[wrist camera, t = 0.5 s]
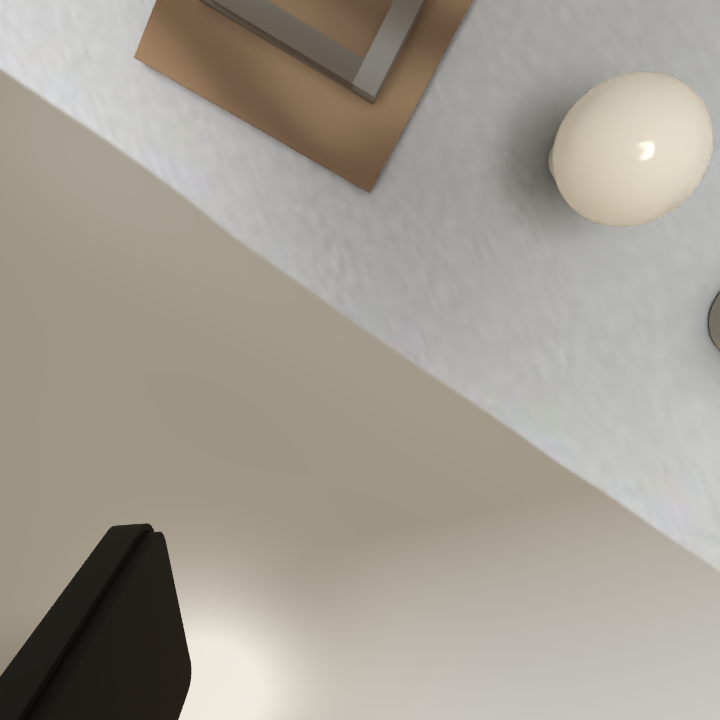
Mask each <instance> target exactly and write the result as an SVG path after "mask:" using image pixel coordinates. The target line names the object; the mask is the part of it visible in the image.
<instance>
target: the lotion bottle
mask: <svg viewBox="0 0 720 720" xmlns="http://www.w3.org/2000/svg"><path fill="white" fill-rule="evenodd" d="M709 330H710V334H711V337H712V340H713V341H714V343H715V345H716V346H717V347H718V348H719V349H720V294H719V295H718V297H717V298H716V300H715V302H714V304H713V306H712V309H711V312H710V317H709Z"/></svg>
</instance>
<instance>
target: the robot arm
mask: <svg viewBox="0 0 720 720" xmlns="http://www.w3.org/2000/svg"><path fill="white" fill-rule="evenodd" d="M190 681H191V661H190V656H189V652H188V647H187V643H186V637H185V632H184V628H183V623H182V618H181V613H180V608H179V604H178V598H177V594H176V589H175V584H174V579H173V574H172V569H171V565H170V560H169V555H168V550H167V545H166V541H165V538H164V535H163V533H161V532H154V530H153V528H152V526H151V525H150V524H133V525H118V526H112V527H111V528H110V529H109V530H108V531H107V533H106V534H105V536H104V537H103V538H102V540H101V541H100V542H99V544H98V545H97V546H96V548H95V549H94V551H93V552H92V553H91V554H90V556H89V557H88V558H87V560H86V561H85V563H84V564H83V565H82V567H81V568H80V569H79V571H78V572H77V573H76V575H75V576H74V578H73V579H72V580H71V581H70V583H69V584H68V586H67V587H66V588H65V590H64V591H63V592H62V594H61V595H60V596H59V598H58V599H57V601H56V602H55V603H54V605H53V606H52V607H51V609H50V610H49V611H48V613H47V614H46V615H45V617H44V618H43V619H42V621H41V622H40V624H39V625H38V626H37V628H36V629H35V630H34V632H33V633H32V634H31V636H30V637H29V638H28V640H27V641H26V642H25V644H24V645H23V647H22V648H21V649H20V651H19V652H18V653H17V655H16V656H15V657H14V659H13V660H12V661H11V663H10V664H9V666H8V667H7V668H6V670H5V671H4V672H3V674H2V675H1V676H0V720H178V719H179V716H180V713H181V710H182V708H183V705H184V702H185V699H186V696H187V693H188V690H189V686H190Z"/></svg>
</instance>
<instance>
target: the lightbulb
mask: <svg viewBox="0 0 720 720" xmlns="http://www.w3.org/2000/svg"><path fill="white" fill-rule="evenodd" d="M712 150H713V126H712V121H711V118H710V115H709V112H708V110H707V108H706V106H705V104H704V102H703V101H702V99H701V98H700V97H699V95H698V94H697V93H696V92H695V91H694V90H693V89H692V88H691V87H689V86H688V85H687V84H685V83H684V82H682V81H681V80H679V79H677V78H674V77H672V76H669V75H666V74H662V73H657V72H631V73H626V74H622V75H618V76H615V77H613V78H610V79H608V80H606V81H604V82H602V83H600V84H598V85H596V86H595V87H593V88H592V89H590V90H589V91H588V92H587V93H585V94H584V95H583V96H582V97H581V98H580V99H579V100H578V101H577V102H576V103H575V104H574V105H573V106H572V108H571V109H570V110H569V112H568V113H567V114H566V116H565V118H564V119H563V121H562V123H561V125H560V127H559V129H558V132H557V135H556V138H555V141H554V145H553V147H552V149H551V151H550V154H549V158H548V165H549V170H550V172H551V174H552V175H553V177H554V179H555V182H556V185H557V187H558V189H559V191H560V193H561V195H562V197H563V198H564V200H565V201H566V202H567V203H568V204H569V206H570V207H571V208H572V209H574V210H575V211H576V212H577V213H579V214H580V215H581V216H583V217H585V218H587V219H588V220H591V221H593V222H596V223H599V224H602V225H607V226H614V227H629V226H636V225H641V224H645V223H648V222H651V221H654V220H656V219H658V218H661V217H663V216H664V215H666V214H668V213H670V212H671V211H673V210H674V209H676V208H677V207H678V206H680V205H681V204H682V203H683V202H684V201H685V200H686V199H687V198H688V197H689V196H690V195H691V194H692V193H693V192H694V190H695V189H696V188H697V186H698V185H699V183H700V182H701V180H702V178H703V177H704V175H705V173H706V170H707V168H708V165H709V163H710V159H711V155H712Z"/></svg>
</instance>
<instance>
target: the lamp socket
mask: <svg viewBox="0 0 720 720" xmlns="http://www.w3.org/2000/svg"><path fill="white" fill-rule="evenodd" d="M471 2H472V0H156V3H155V5H154V8H153V10H152V13H151V16H150V18H149V21H148V23H147V26H146V28H145V31H144V33H143V36H142V38H141V41H140V43H139V46H138V48H137V51H136V54H135V56H134V58H136V59H137V60H139V61H141V62H143V63H144V64H146V65H148V66H150V67H151V68H153V69H155V70H157V71H158V72H160V73H162V74H164V75H165V76H167V77H169V78H171V79H172V80H174V81H176V82H177V83H179V84H181V85H183V86H184V87H186V88H188V89H190V90H191V91H193V92H195V93H197V94H198V95H200V96H202V97H204V98H205V99H207V100H209V101H211V102H212V103H214V104H216V105H217V106H219V107H221V108H223V109H224V110H226V111H228V112H230V113H231V114H233V115H235V116H237V117H238V118H240V119H242V120H244V121H245V122H247V123H249V124H251V125H252V126H254V127H256V128H258V129H259V130H261V131H263V132H264V133H266V134H268V135H270V136H271V137H273V138H275V139H277V140H278V141H280V142H282V143H284V144H285V145H287V146H289V147H291V148H292V149H294V150H296V151H298V152H299V153H301V154H303V155H304V156H306V157H308V158H310V159H311V160H313V161H315V162H317V163H318V164H320V165H322V166H324V167H325V168H327V169H329V170H331V171H332V172H334V173H336V174H338V175H339V176H341V177H343V178H344V179H346V180H348V181H350V182H351V183H353V184H355V185H357V186H358V187H360V188H362V189H364V190H365V191H367V192H369V193H370V191H371V189H372V187H373V185H374V184H375V182H376V180H377V178H378V176H379V174H380V172H381V170H382V169H383V167H384V165H385V163H386V161H387V159H388V157H389V155H390V154H391V152H392V150H393V148H394V146H395V144H396V142H397V141H398V139H399V137H400V135H401V133H402V131H403V129H404V127H405V126H406V124H407V122H408V120H409V118H410V116H411V114H412V112H413V111H414V109H415V107H416V105H417V103H418V101H419V99H420V97H421V96H422V94H423V92H424V90H425V88H426V86H427V84H428V83H429V81H430V79H431V77H432V75H433V73H434V71H435V69H436V68H437V66H438V64H439V62H440V60H441V58H442V56H443V54H444V53H445V51H446V49H447V47H448V45H449V43H450V41H451V39H452V38H453V36H454V34H455V32H456V30H457V28H458V26H459V25H460V23H461V21H462V19H463V17H464V15H465V13H466V11H467V10H468V8H469V6H470V4H471Z"/></svg>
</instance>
